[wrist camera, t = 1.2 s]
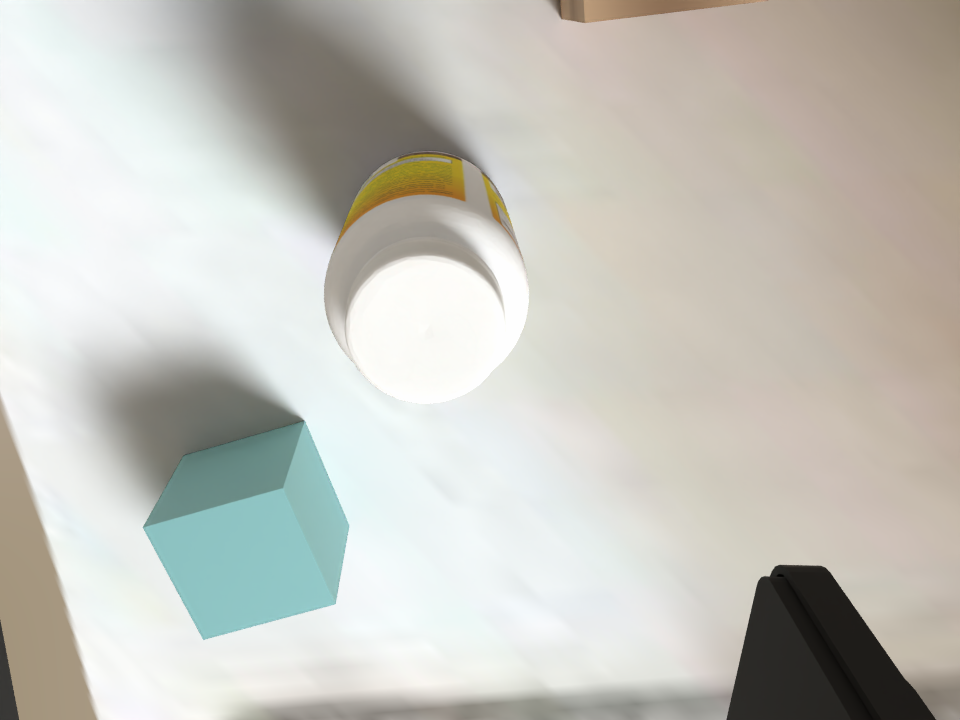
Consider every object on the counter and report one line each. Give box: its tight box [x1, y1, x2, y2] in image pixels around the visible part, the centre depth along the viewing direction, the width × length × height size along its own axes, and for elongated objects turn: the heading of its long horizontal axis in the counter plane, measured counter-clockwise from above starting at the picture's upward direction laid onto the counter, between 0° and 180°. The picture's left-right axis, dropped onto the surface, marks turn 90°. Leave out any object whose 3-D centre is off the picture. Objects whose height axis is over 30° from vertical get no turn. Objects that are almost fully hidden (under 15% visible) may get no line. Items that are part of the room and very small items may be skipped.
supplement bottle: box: [324, 151, 529, 403], centre depth 25 cm, size 6×6×10 cm
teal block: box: [143, 421, 349, 640], centre depth 32 cm, size 5×5×5 cm
